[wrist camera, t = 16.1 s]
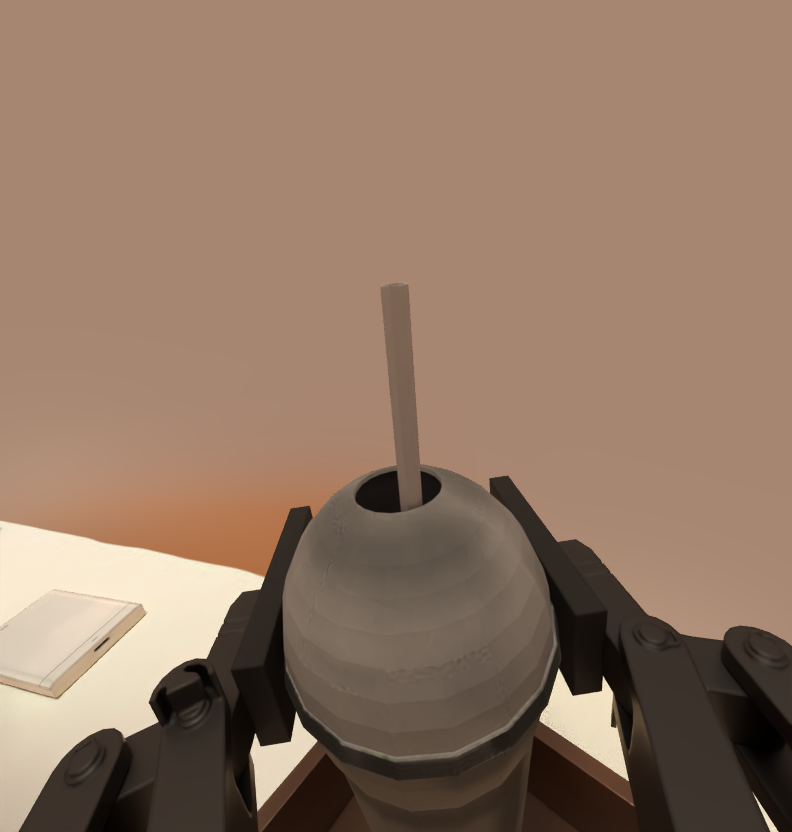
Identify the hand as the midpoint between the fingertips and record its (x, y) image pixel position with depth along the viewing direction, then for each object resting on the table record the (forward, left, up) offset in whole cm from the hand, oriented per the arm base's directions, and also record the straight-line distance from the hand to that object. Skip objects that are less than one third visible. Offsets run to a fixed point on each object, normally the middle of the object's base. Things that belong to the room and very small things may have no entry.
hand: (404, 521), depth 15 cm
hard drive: (-35, -13, -18) cm, 41 cm away
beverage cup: (+4, -3, -11) cm, 12 cm away
